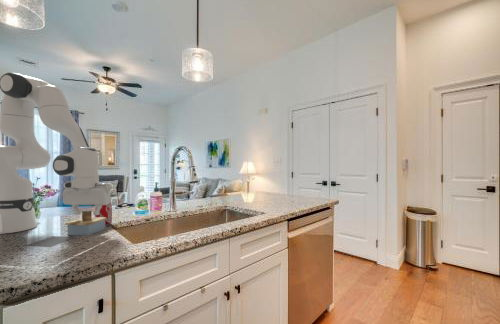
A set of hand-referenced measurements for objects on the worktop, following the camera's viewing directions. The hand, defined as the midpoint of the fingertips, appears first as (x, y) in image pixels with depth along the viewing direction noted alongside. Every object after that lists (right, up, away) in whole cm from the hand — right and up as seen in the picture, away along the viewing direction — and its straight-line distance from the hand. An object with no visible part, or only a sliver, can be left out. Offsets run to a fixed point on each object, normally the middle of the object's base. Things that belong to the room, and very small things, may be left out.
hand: (87, 214), depth 102 cm
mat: (-5, -8, -12) cm, 15 cm away
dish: (0, -8, 0) cm, 8 cm away
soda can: (-1, -8, +13) cm, 15 cm away
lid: (0, -3, 0) cm, 3 cm away
